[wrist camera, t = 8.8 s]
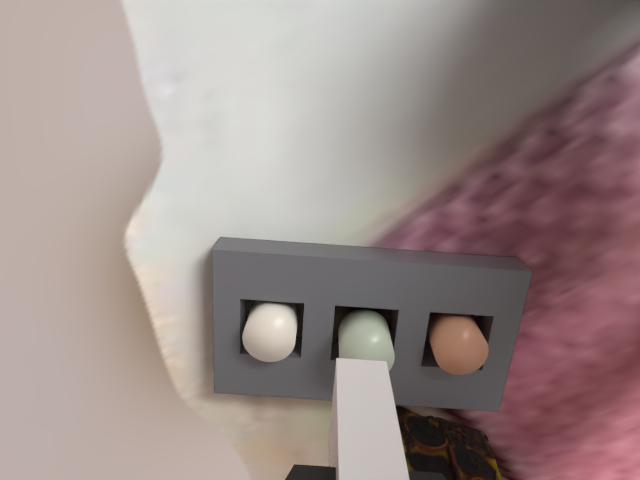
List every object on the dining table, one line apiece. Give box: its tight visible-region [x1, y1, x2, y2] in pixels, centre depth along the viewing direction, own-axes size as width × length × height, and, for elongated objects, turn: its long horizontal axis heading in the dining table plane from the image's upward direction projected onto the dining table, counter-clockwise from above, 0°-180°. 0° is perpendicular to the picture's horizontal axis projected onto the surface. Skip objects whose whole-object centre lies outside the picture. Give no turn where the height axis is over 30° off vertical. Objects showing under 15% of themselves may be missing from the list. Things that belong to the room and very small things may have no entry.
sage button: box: [338, 309, 395, 371], centre depth 39 cm, size 4×4×4 cm
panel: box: [212, 237, 532, 412], centre depth 42 cm, size 14×26×3 cm, turn 86°
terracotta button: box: [426, 312, 489, 375], centre depth 41 cm, size 4×4×4 cm
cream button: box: [242, 300, 298, 362], centre depth 41 cm, size 4×4×4 cm
